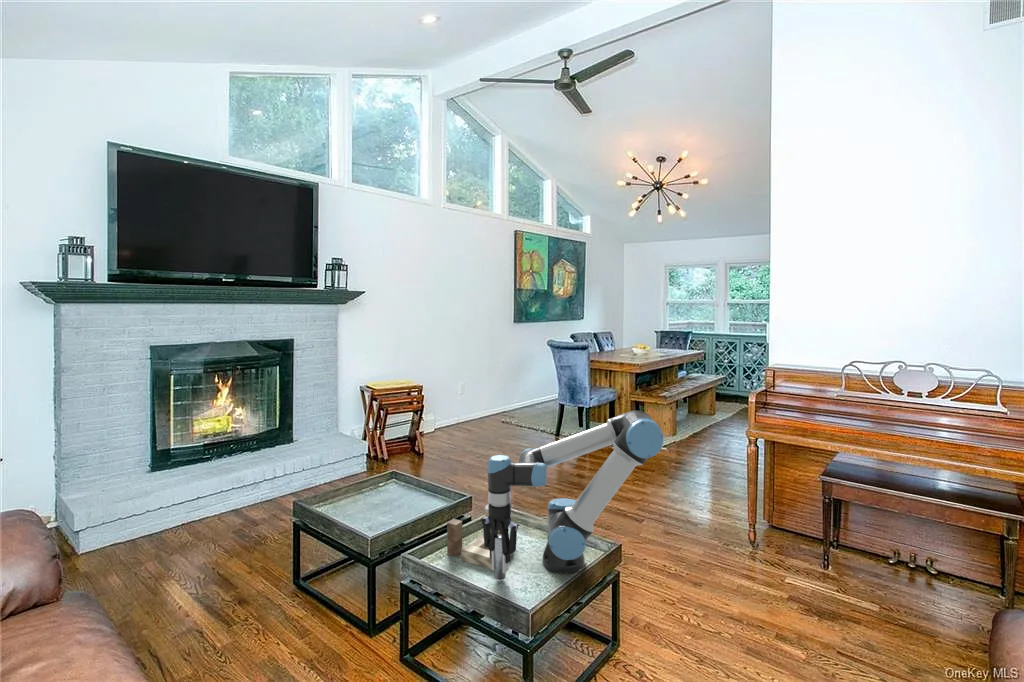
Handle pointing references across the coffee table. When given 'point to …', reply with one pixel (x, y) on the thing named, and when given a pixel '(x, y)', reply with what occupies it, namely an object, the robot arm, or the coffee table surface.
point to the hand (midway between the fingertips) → (500, 569)
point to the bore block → (477, 553)
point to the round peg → (499, 558)
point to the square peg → (454, 537)
